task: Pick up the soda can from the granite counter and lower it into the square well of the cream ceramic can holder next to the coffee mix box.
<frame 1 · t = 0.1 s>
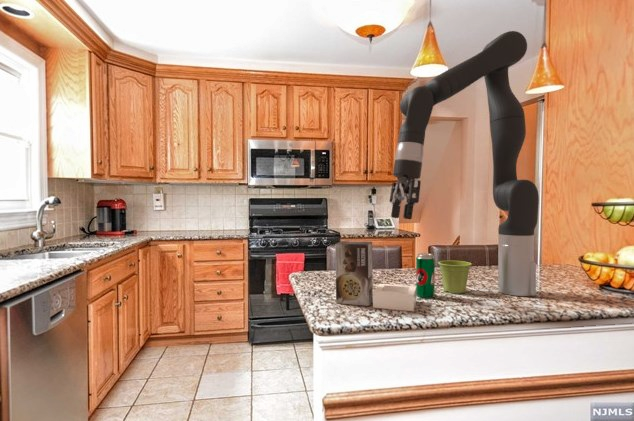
hand: (400, 218, 101), 22 cm above the worktop, tool pointing down, fingers open, 8 cm apart
holder: (395, 304, 95), on the worktop
coffee box: (354, 302, 97), on the worktop
plant pot: (454, 292, 109), on the worktop
soda can: (425, 297, 103), on the worktop
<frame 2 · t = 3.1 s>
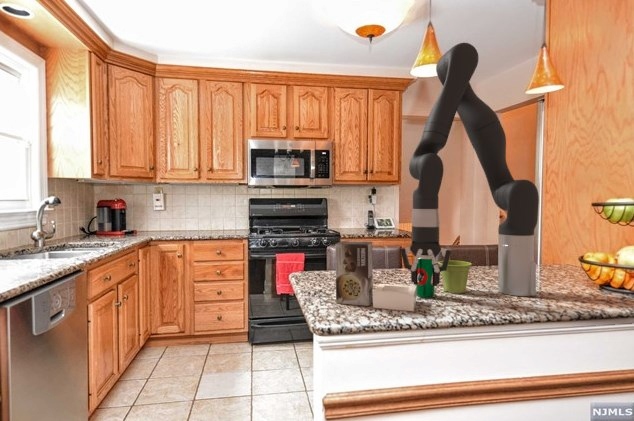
hand: (425, 284, 103), 3 cm above the worktop, tool pointing down, fingers closed on soda can, 5 cm apart
soda can: (425, 297, 103), on the worktop, touching gripper
everything else where it was.
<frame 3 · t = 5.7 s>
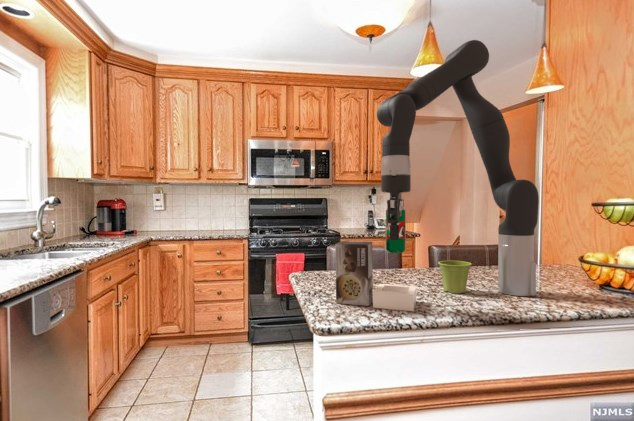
hand: (395, 238, 95), 17 cm above the worktop, tool pointing down, fingers closed on soda can, 5 cm apart
soda can: (395, 252, 95), point 14 cm above the worktop, touching gripper
everything else where it was.
when the fingers open (5 cm above the worktop, at t = 8.2 s): soda can drops 2 cm, resting in holder.
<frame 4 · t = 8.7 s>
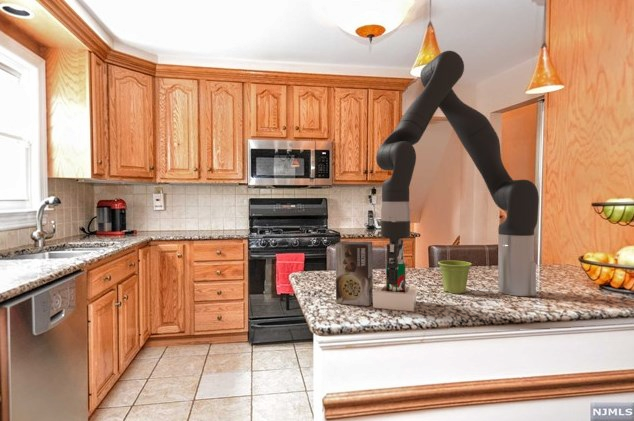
hand: (395, 281, 95), 6 cm above the worktop, tool pointing down, fingers open, 8 cm apart
soda can: (395, 304, 95), resting in holder
everything else where it was.
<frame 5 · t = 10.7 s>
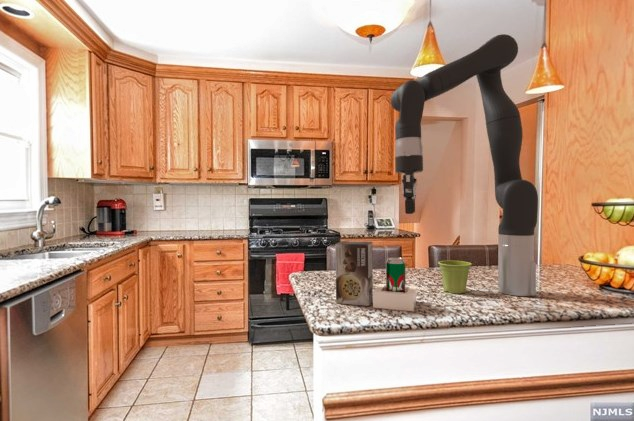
hand: (410, 213, 102), 24 cm above the worktop, tool pointing down, fingers open, 8 cm apart
nothing on the worktop moved.
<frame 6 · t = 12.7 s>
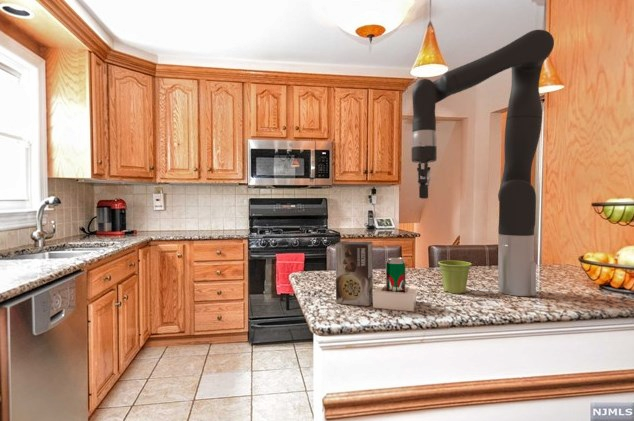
hand: (423, 198, 113), 28 cm above the worktop, tool pointing down, fingers open, 8 cm apart
nothing on the worktop moved.
at the end: soda can 0.1 cm from the holder (horizontally); soda can resting in holder; soda can tilted 0° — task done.
